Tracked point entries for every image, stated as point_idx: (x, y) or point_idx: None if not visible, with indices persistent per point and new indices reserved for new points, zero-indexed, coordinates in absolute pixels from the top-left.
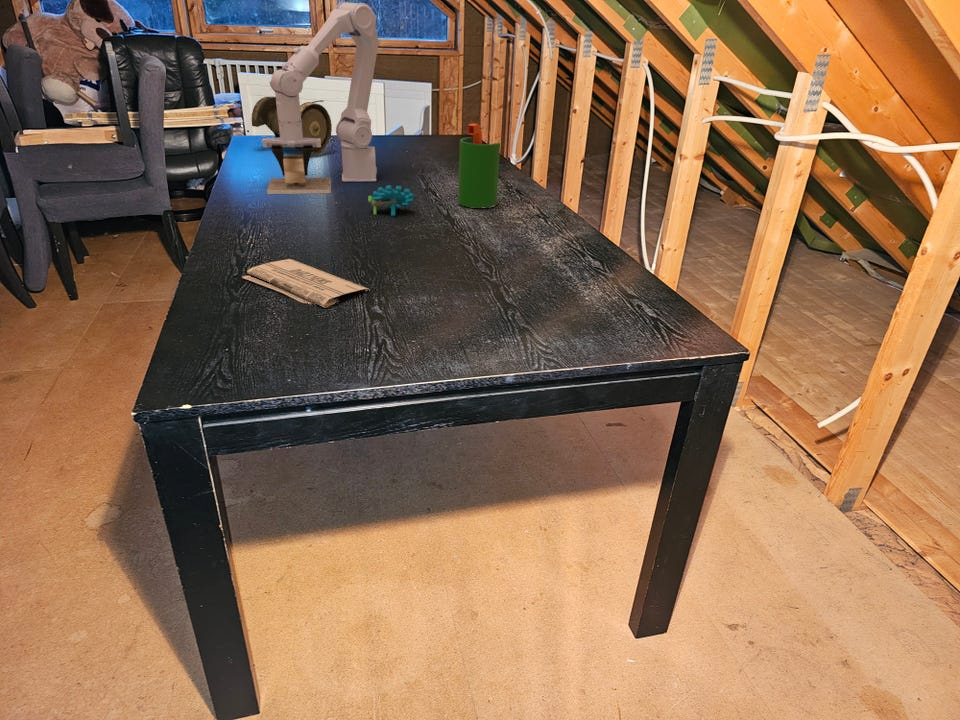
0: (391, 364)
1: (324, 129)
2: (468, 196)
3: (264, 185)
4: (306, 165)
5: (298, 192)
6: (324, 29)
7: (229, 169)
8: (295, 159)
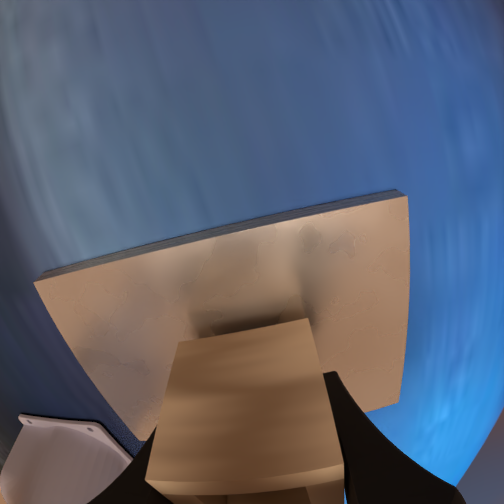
0: None
1: None
2: None
3: (421, 342)
4: (151, 446)
5: (198, 234)
6: None
7: (489, 431)
8: (212, 481)
